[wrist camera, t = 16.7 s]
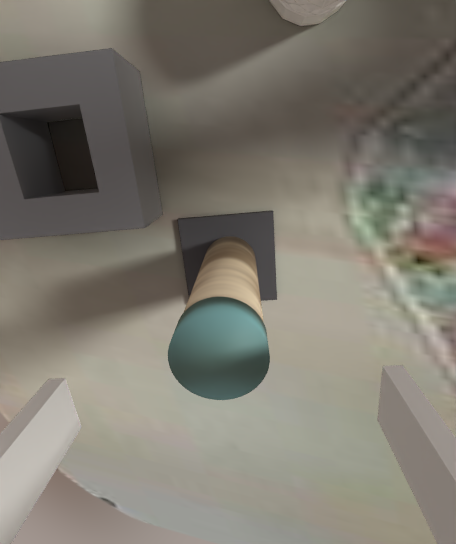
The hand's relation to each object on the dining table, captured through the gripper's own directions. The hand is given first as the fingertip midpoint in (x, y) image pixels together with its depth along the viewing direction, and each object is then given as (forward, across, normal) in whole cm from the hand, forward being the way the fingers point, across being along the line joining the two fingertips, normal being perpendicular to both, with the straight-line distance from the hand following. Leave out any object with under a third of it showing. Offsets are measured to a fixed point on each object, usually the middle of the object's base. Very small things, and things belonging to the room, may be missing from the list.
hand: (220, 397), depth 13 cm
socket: (+20, -13, +11) cm, 26 cm away
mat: (+20, -1, 0) cm, 20 cm away
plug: (+19, -1, 0) cm, 19 cm away
